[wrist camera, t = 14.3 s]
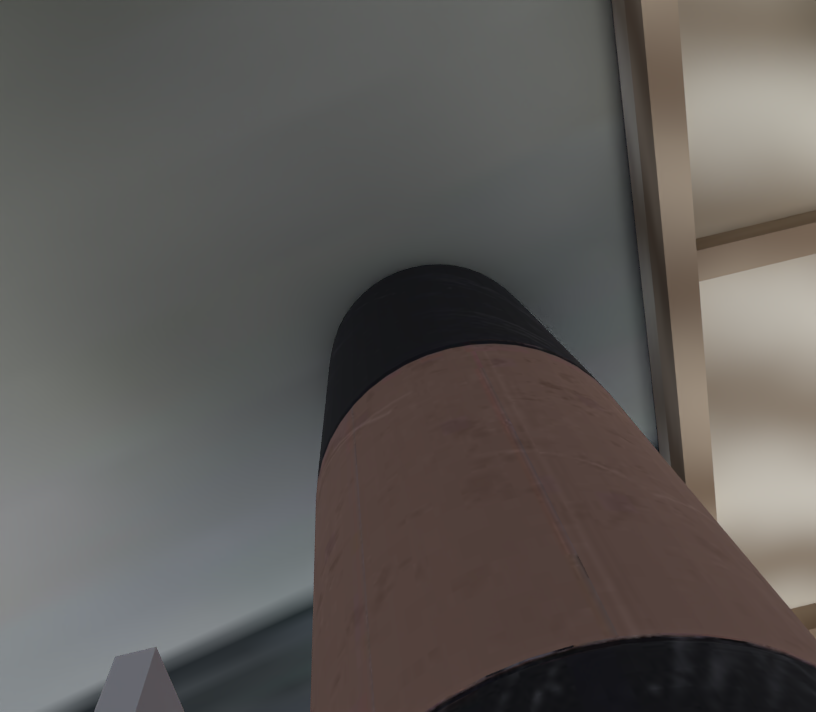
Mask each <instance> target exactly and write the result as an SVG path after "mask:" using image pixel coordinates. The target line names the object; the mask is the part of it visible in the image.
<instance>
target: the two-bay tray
mask: <svg viewBox="0 0 816 712" xmlns="http://www.w3.org/2000/svg"><path fill="white" fill-rule="evenodd" d="M612 9H613V19H614V28H615V37H616V47H617V56H618V66H619V75H620V85H621V94H622V103H623V113H624V122H625V132H626V141H627V151H628V160H629V170H630V179H631V188H632V198H633V207H634V217H635V226H636V236H637V245H638V254H639V264H640V273H641V283H642V292H643V302H644V311H645V320H646V330H647V339H648V349H649V358H650V368H651V377H652V386H653V396H654V405H655V415H656V424H657V434H658V443H659V452H660V455H661V456H662V457H663V458H664V459H665V460H666V462H667V463H668V464H669V465H670V466H671V468H672V469H673V470H674V471H675V472H676V474H677V475H678V476H679V477H680V478H681V479H682V481H683V482H684V483H685V484H686V485H687V487H688V488H689V489H690V490H691V491H692V493H693V494H694V495H695V496H696V497H697V498H698V500H699V501H700V502H701V503H702V504H703V506H704V507H705V508H706V509H707V510H708V512H709V513H710V514H711V515H712V516H713V517H714V519H715V520H716V521H717V522H718V523H719V525H720V526H721V527H722V528H723V529H724V531H725V532H726V533H727V534H728V535H729V537H730V538H731V539H732V540H733V541H734V542H735V544H736V545H737V546H738V547H739V548H740V550H741V551H742V552H743V553H744V554H745V556H746V557H747V558H748V559H749V560H750V561H751V563H752V564H753V565H754V566H755V567H756V569H757V570H758V571H759V572H760V573H761V575H762V576H763V577H764V578H765V579H766V580H767V582H768V583H769V584H770V585H771V586H772V588H773V589H774V590H775V591H776V592H777V594H778V595H779V596H780V597H781V598H782V600H783V601H784V602H785V603H786V604H787V605H788V607H789V608H790V609H791V610H792V611H793V613H794V614H795V615H796V616H797V617H798V619H799V620H800V621H801V622H802V623H803V624H804V626H805V627H806V628H807V629H808V630H809V632H810V633H811V634H812V635H813V636H814V638H815V639H816V0H612Z"/></svg>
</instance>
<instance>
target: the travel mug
mask: <svg viewBox="0 0 816 712" xmlns="http://www.w3.org/2000/svg"><path fill="white" fill-rule="evenodd" d="M311 712H816V639H815V638H814V636H813V635H812V634H811V633H810V632H809V630H808V629H807V628H806V627H805V626H804V624H803V623H802V622H801V621H800V620H799V619H798V617H797V616H796V615H795V614H794V613H793V611H792V610H791V609H790V608H789V607H788V605H787V604H786V603H785V602H784V601H783V600H782V598H781V597H780V596H779V595H778V594H777V592H776V591H775V590H774V589H773V588H772V586H771V585H770V584H769V583H768V582H767V580H766V579H765V578H764V577H763V576H762V575H761V573H760V572H759V571H758V570H757V569H756V567H755V566H754V565H753V564H752V563H751V561H750V560H749V559H748V558H747V557H746V556H745V554H744V553H743V552H742V551H741V550H740V548H739V547H738V546H737V545H736V544H735V542H734V541H733V540H732V539H731V538H730V537H729V535H728V534H727V533H726V532H725V531H724V529H723V528H722V527H721V526H720V525H719V523H718V522H717V521H716V520H715V519H714V517H713V516H712V515H711V514H710V513H709V512H708V510H707V509H706V508H705V507H704V506H703V504H702V503H701V502H700V501H699V500H698V498H697V497H696V496H695V495H694V494H693V493H692V491H691V490H690V489H689V488H688V487H687V485H686V484H685V483H684V482H683V481H682V479H681V478H680V477H679V476H678V475H677V474H676V472H675V471H674V470H673V469H672V468H671V466H670V465H669V464H668V463H667V462H666V460H665V459H664V458H663V457H662V456H661V455H660V453H659V452H658V451H657V450H656V449H655V447H654V446H653V445H652V444H651V443H650V441H649V440H648V439H647V438H646V437H645V435H644V434H643V433H642V432H641V431H640V430H639V428H638V427H637V426H636V425H635V424H634V422H633V421H632V420H631V419H630V418H629V416H628V415H627V414H626V413H625V412H624V411H623V409H622V408H621V407H620V406H619V405H618V403H617V402H616V401H615V400H614V399H613V397H612V396H611V395H610V394H609V393H608V392H607V391H606V390H605V389H604V388H603V386H602V385H601V384H600V383H599V382H598V381H597V380H596V379H595V378H594V377H593V376H592V375H591V374H590V373H589V372H588V371H587V370H586V369H585V368H584V367H583V366H582V365H581V364H580V363H579V362H578V361H577V360H576V359H575V358H574V357H573V356H572V355H571V354H570V353H569V352H568V351H567V350H566V349H565V348H564V347H563V346H562V345H561V344H560V343H559V342H558V341H557V340H556V339H555V338H554V337H553V336H552V335H551V334H550V332H549V331H548V330H547V329H546V328H545V327H544V326H543V325H542V324H541V323H540V322H539V321H538V320H537V319H536V318H535V317H534V316H533V315H532V314H531V313H530V312H529V311H528V310H527V309H526V308H525V307H524V306H523V305H522V304H521V303H520V302H519V301H518V300H517V299H516V298H514V297H513V296H512V295H511V294H510V293H509V292H508V291H507V290H506V289H504V288H503V287H502V286H500V285H499V284H498V283H496V282H495V281H493V280H492V279H490V278H488V277H486V276H484V275H482V274H480V273H478V272H475V271H472V270H470V269H466V268H462V267H457V266H450V265H426V266H420V267H414V268H410V269H407V270H404V271H400V272H398V273H396V274H393V275H391V276H389V277H387V278H385V279H383V280H382V281H380V282H378V283H377V284H375V285H374V286H373V287H371V288H370V289H369V290H368V291H366V292H365V293H364V294H363V295H362V296H361V297H360V298H359V299H358V300H357V301H356V302H355V303H354V305H353V306H352V307H351V309H350V310H349V311H348V313H347V314H346V316H345V318H344V319H343V321H342V323H341V325H340V327H339V330H338V332H337V335H336V338H335V341H334V345H333V349H332V354H331V359H330V367H329V375H328V385H327V394H326V404H325V413H324V423H323V432H322V442H321V452H320V461H319V471H318V483H317V495H316V523H315V561H314V598H313V636H312V674H311Z"/></svg>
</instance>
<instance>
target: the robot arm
mask: <svg viewBox="0 0 816 712" xmlns="http://www.w3.org/2000/svg"><path fill="white" fill-rule="evenodd" d="M94 712H184V710H183V708H182V705H181V703H180V701H179V698H178V696H177V694H176V691H175V689H174V687H173V685H172V682H171V680H170V678H169V675H168V673H167V671H166V668H165V666H164V664H163V662H162V659H161V657H160V655H159V652H158V650H157V648H156V647H153V648H149V649H145V650H141V651H137V652H133V653H129V654H125V655H121V656H117V657H115V659H114V662H113V664H112V667H111V669H110V672H109V674H108V677H107V680H106V682H105V685H104V687H103V690H102V693H101V695H100V698H99V700H98V703H97V706H96V708H95V711H94Z"/></svg>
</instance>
